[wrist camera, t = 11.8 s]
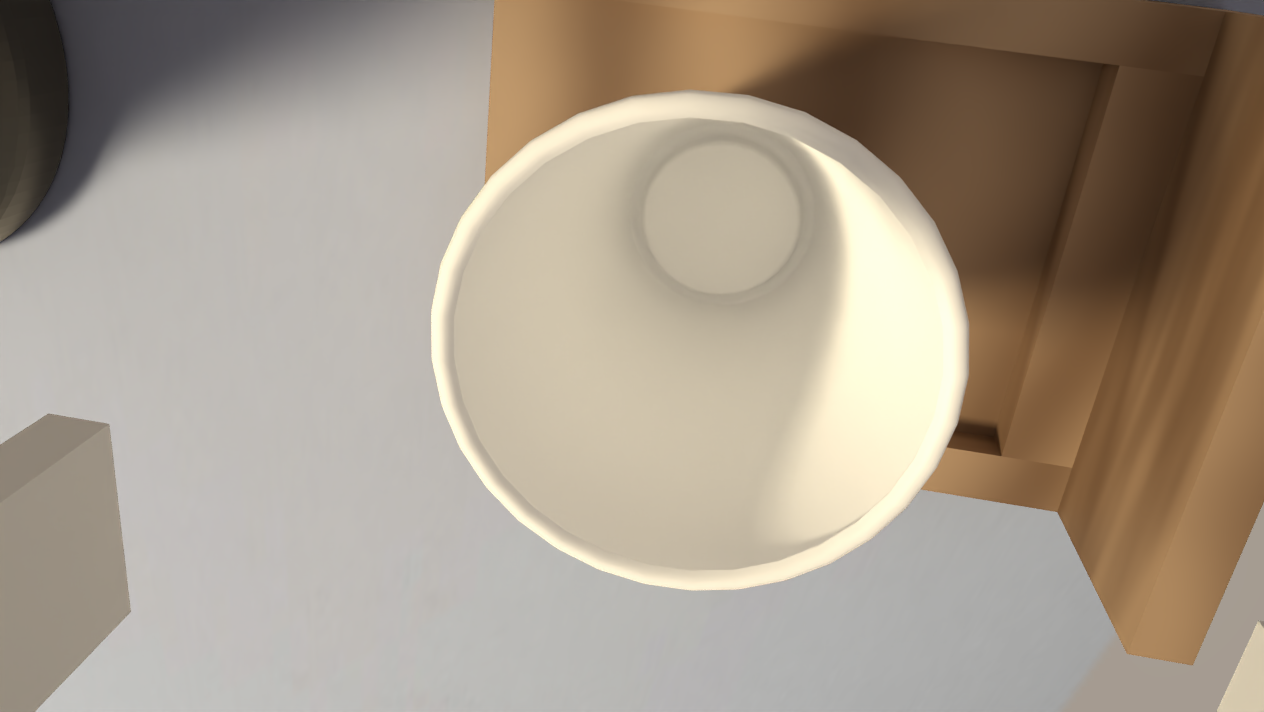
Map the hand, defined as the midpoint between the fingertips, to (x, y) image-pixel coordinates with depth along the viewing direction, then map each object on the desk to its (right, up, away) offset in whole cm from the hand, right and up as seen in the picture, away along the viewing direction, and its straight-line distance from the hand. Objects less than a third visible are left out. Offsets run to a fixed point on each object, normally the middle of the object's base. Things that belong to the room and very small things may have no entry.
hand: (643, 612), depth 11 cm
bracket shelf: (+5, +8, +19) cm, 21 cm away
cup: (+2, +7, +17) cm, 18 cm away
